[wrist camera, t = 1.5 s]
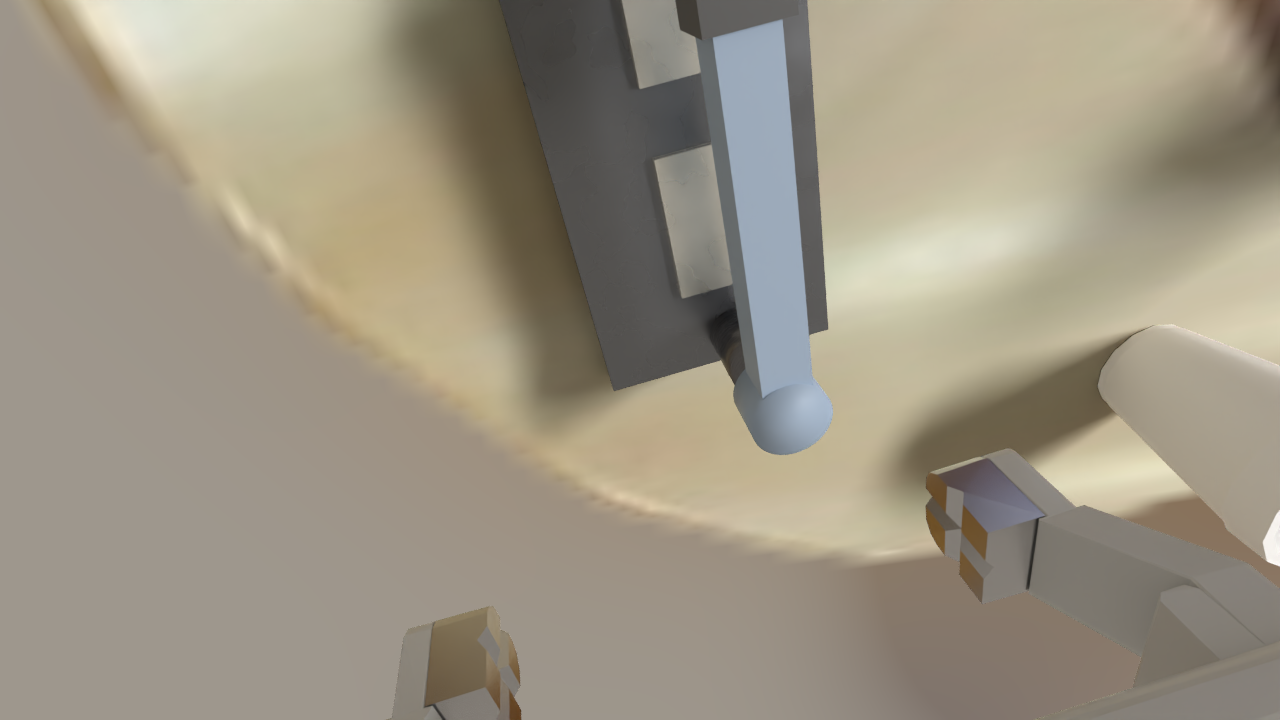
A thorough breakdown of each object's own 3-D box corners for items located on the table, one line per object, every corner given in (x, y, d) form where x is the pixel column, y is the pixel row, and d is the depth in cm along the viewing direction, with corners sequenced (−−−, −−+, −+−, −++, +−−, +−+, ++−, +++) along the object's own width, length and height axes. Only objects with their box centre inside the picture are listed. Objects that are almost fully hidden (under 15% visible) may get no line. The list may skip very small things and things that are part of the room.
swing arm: (810, 405, 32) (835, 442, 29) (738, 427, 32) (757, 465, 29) (762, -143, 20) (798, -154, 18) (646, -113, 20) (667, -121, 18)
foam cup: (1055, 427, 46) (1230, 577, 35) (1109, 307, 41) (1331, 438, 30) (1171, 416, 48) (1373, 555, 37) (1236, 299, 43) (1490, 419, 32)
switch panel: (429, -240, 23) (411, -294, 17) (769, -323, 23) (850, -399, 18) (609, 375, 37) (629, 446, 32) (816, 316, 37) (869, 376, 32)
